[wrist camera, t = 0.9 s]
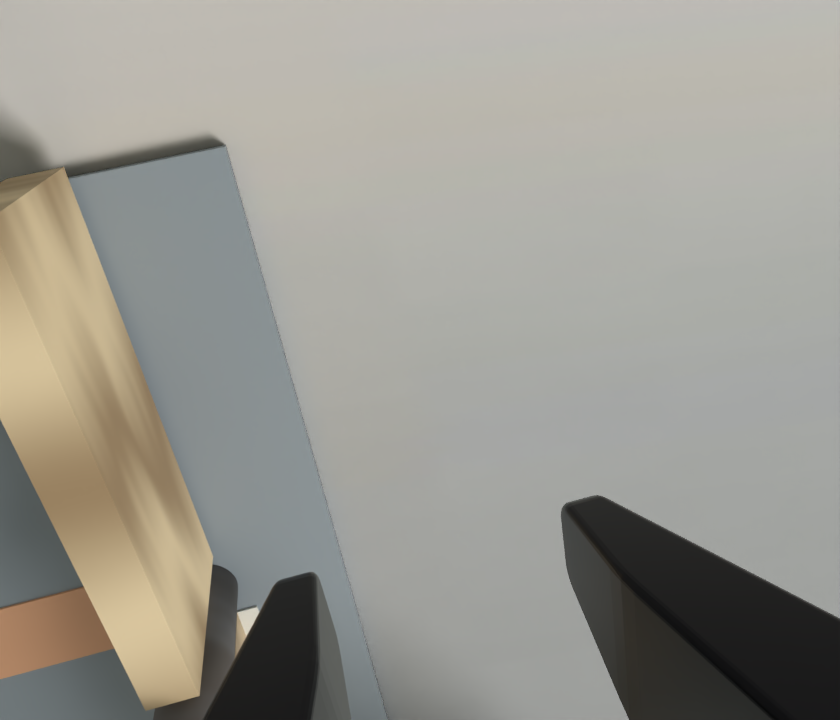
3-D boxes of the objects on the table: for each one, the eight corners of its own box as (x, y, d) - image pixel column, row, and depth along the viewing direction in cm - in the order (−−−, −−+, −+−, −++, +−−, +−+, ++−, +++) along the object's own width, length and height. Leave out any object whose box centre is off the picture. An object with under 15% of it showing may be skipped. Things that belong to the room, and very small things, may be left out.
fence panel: (213, 556, 21) (199, 695, 16) (170, 567, 20) (145, 711, 16) (64, 167, 16) (-12, 219, 11) (6, 178, 16) (-91, 236, 11)
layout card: (408, 793, 27) (410, 802, 27) (-61, 935, 26) (-65, 947, 25) (225, 144, 17) (224, 147, 16) (-593, 313, 15) (-612, 319, 15)
